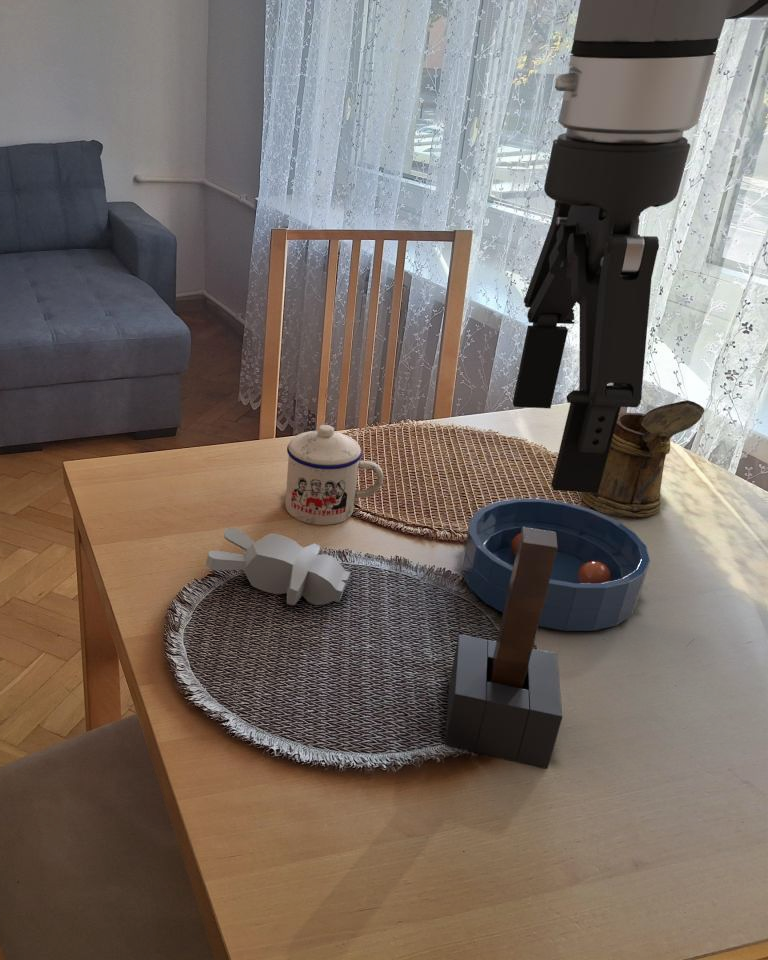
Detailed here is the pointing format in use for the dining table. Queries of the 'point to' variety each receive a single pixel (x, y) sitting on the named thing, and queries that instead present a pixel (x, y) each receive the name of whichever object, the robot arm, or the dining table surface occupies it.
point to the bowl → (558, 561)
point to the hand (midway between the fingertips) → (550, 444)
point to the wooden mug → (640, 460)
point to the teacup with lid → (325, 476)
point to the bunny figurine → (283, 567)
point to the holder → (503, 706)
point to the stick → (523, 606)
